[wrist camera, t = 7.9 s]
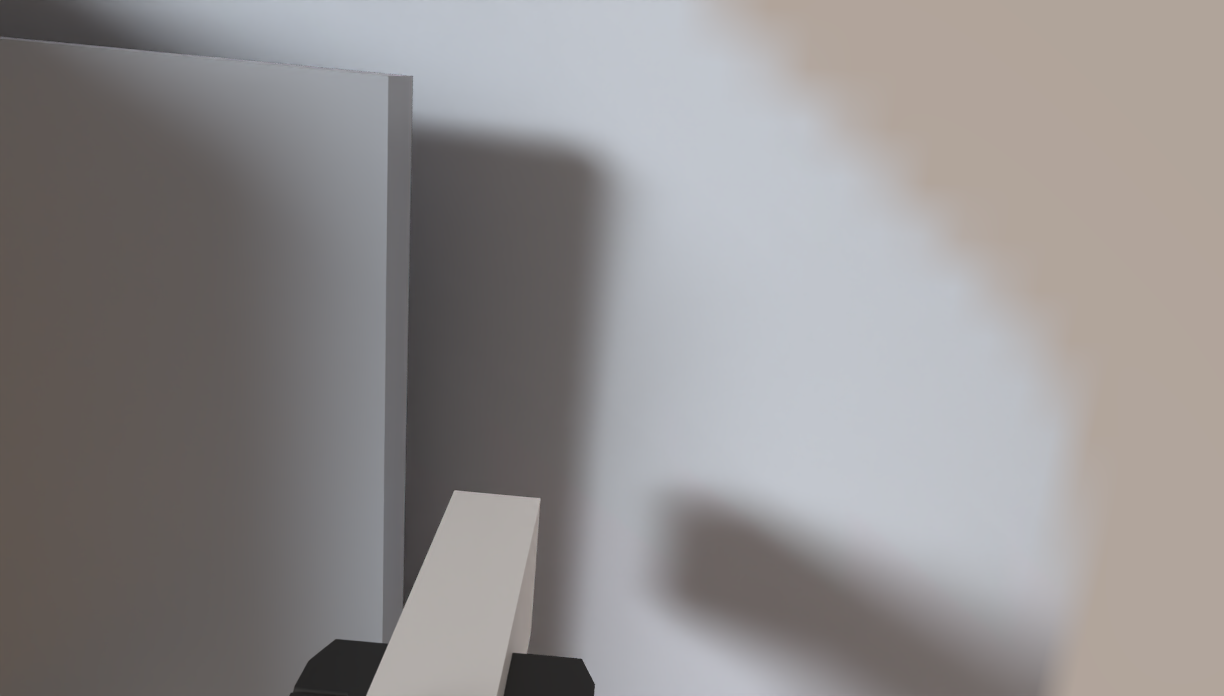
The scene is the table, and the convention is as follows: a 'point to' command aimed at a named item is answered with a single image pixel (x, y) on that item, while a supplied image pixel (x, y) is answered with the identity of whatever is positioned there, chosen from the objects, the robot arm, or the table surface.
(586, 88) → the table surface
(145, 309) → the door
